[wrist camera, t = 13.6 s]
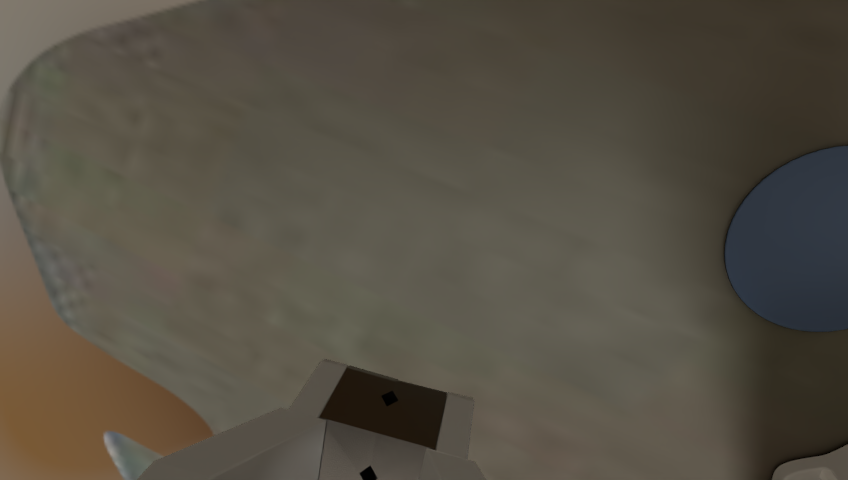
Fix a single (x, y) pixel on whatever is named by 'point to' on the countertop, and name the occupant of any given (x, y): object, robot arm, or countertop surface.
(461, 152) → the countertop surface
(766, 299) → the disc
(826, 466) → the robot arm
